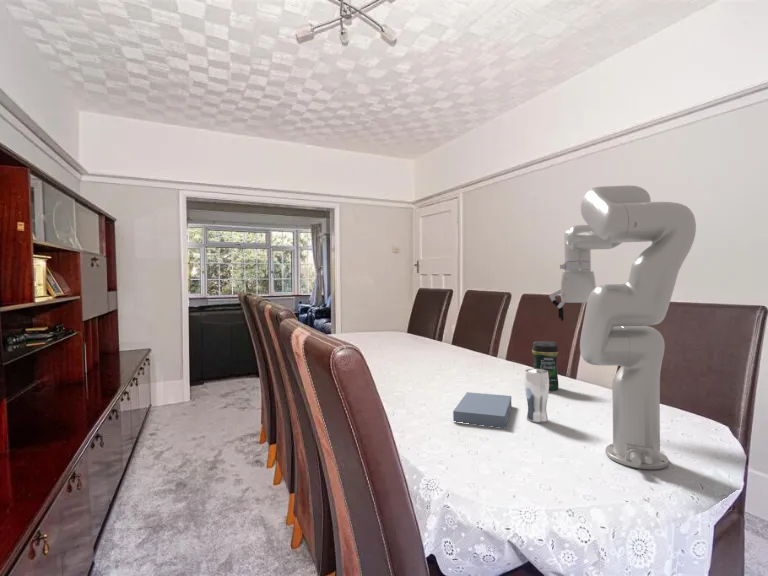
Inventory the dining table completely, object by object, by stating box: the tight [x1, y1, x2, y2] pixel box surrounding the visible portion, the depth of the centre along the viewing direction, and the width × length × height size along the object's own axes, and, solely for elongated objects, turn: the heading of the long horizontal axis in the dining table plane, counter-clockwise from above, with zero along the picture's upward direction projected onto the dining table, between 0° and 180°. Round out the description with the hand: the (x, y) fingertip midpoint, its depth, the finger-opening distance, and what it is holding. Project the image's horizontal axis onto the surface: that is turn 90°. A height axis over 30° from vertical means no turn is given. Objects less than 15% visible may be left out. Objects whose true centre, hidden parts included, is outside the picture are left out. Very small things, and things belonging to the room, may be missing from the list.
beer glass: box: [524, 368, 550, 424], centre depth 123 cm, size 7×7×15 cm
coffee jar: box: [531, 340, 559, 391], centre depth 159 cm, size 10×8×19 cm
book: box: [452, 391, 512, 429], centre depth 130 cm, size 22×15×4 cm
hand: (578, 320), depth 130 cm, fingers open, 9 cm apart
